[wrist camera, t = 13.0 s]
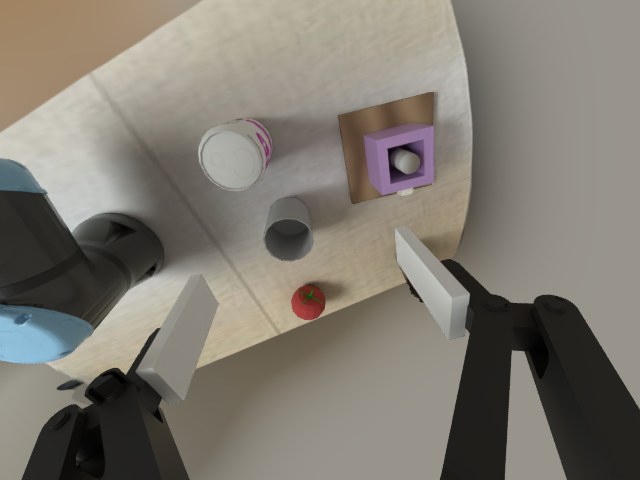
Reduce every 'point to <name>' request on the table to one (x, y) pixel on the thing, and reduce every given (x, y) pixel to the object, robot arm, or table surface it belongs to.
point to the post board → (373, 121)
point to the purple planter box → (414, 141)
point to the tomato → (308, 302)
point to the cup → (288, 230)
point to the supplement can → (235, 154)
